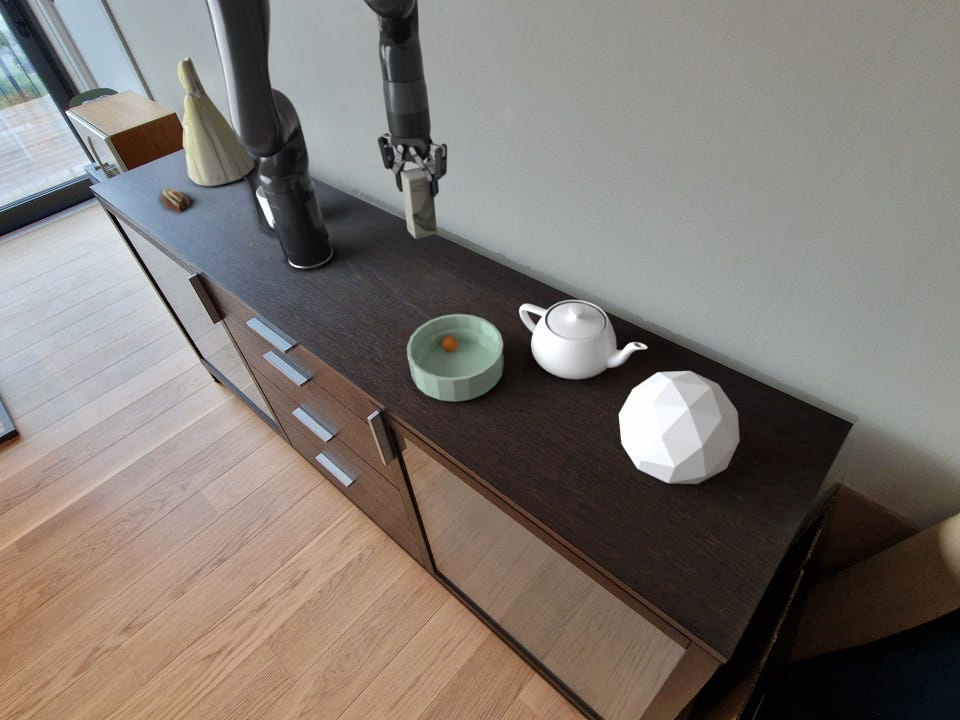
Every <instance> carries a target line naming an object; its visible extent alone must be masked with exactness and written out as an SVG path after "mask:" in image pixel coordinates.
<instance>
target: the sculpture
mask: <svg viewBox="0 0 960 720" xmlns="http://www.w3.org/2000/svg"><path fill="white" fill-rule="evenodd" d="M177 75H178V76H177V77H178V79H179V82H180V84H181V86H182V88H183V89H184V90H185V91H186V95H185V97H184V99H183V107H184V113H183V117H182V119H183V120H182V123H181V126H182V128H183V130H182V147H183V149H184V151H185V162H186V169H187V175H188V177H189V180H190V179H191V181H192V182H193V183H194V184H196V185H200V186H205V187H218V186H223V185H226V184H230V183H233V182H237V181H240V180H242V179H244V178H243V176H244V175H246V176H247V175H249V173H250V172H251V171H252V170H253V169H254V168H255V161H254V160H253V158H252V157H251V155H250V153H249V152H248V151H247V150H246V149H245V148H244V147H243V146H242V145H241V144H240V142H239V141H238V139H237V137H236V135H235V133H234V131H233V128H232V126H231V125H230V124H229V122H228V121H227V119H226V117H225V116H224V115H223V114H222V112H221V111H220V110H219V109H218V108H217V106H216V105H215V103H214V102H213V101H212V100H211V98H210V96H209V95H208V94H207V93H206V91H205V88H204V86H203V84H202V82H201V80H200V78H199V74H198V73H197V70H196V67H195V65H194V62H193V61H192V59H191V57H190V56H187V55H186V57H185V58H184V59H182V60H180V61H179V63H178V64H177Z"/></svg>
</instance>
